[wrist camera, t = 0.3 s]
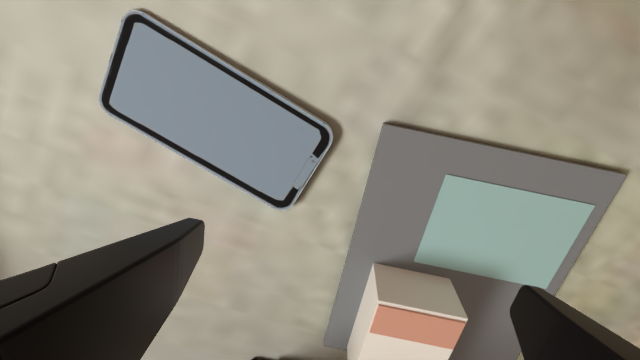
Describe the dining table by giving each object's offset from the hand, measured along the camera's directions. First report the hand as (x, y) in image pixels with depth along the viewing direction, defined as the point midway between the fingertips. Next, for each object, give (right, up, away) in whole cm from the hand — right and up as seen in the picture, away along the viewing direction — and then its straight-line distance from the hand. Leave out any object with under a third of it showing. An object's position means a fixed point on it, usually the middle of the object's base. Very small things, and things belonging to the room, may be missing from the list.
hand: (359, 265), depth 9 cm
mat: (+9, -5, +16) cm, 19 cm away
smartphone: (-8, +7, +13) cm, 17 cm away
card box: (+5, -9, +17) cm, 20 cm away
